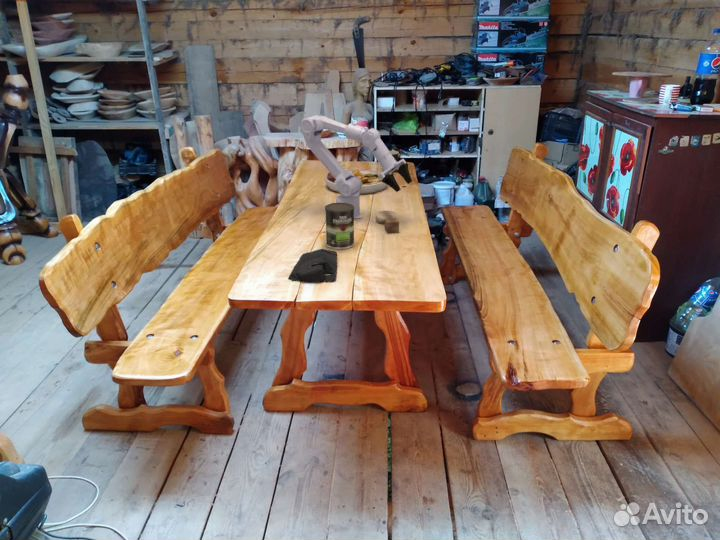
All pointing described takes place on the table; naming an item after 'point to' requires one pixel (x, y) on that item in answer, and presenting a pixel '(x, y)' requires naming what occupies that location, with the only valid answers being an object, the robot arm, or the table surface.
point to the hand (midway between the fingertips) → (404, 186)
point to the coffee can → (339, 225)
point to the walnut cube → (392, 225)
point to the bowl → (367, 178)
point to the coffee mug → (395, 155)
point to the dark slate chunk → (316, 267)
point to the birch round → (384, 216)
